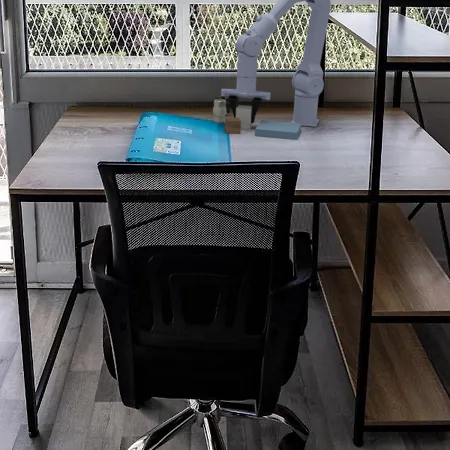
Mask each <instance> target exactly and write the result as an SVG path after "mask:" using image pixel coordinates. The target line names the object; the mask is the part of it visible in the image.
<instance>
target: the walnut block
mask: <svg viewBox="0 0 450 450" xmlns="http://www.w3.org/2000/svg"><path fill="white" fill-rule="evenodd" d="M241 130H242V128H241V120H240V119H239V118H234V117H226V116H225V121H224V132H225V133H226V134H228V135H241Z"/></svg>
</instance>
